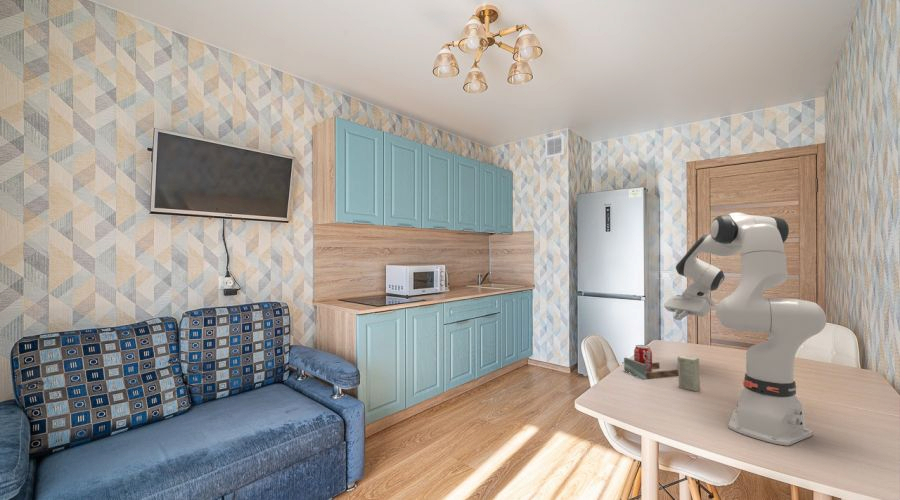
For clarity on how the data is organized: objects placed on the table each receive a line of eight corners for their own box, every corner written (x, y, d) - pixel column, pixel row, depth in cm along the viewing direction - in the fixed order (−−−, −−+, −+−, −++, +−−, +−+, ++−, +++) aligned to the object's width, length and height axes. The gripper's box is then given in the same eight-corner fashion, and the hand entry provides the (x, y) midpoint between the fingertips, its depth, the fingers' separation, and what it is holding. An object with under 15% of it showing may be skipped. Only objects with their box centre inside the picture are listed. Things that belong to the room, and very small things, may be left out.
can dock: (657, 367, 171) (657, 354, 171) (679, 375, 159) (679, 361, 159) (624, 370, 166) (624, 357, 167) (644, 379, 155) (643, 365, 155)
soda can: (654, 373, 163) (654, 346, 163) (648, 377, 158) (648, 349, 158) (637, 369, 168) (637, 343, 168) (631, 373, 163) (631, 346, 163)
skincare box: (700, 389, 143) (699, 358, 143) (695, 391, 140) (695, 360, 140) (682, 384, 148) (682, 354, 148) (677, 387, 145) (677, 356, 146)
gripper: (671, 290, 179) (654, 311, 176) (709, 294, 159) (692, 317, 156) (678, 299, 180) (662, 320, 177) (718, 304, 160) (700, 327, 157)
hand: (676, 319), depth 167 cm, fingers closed
